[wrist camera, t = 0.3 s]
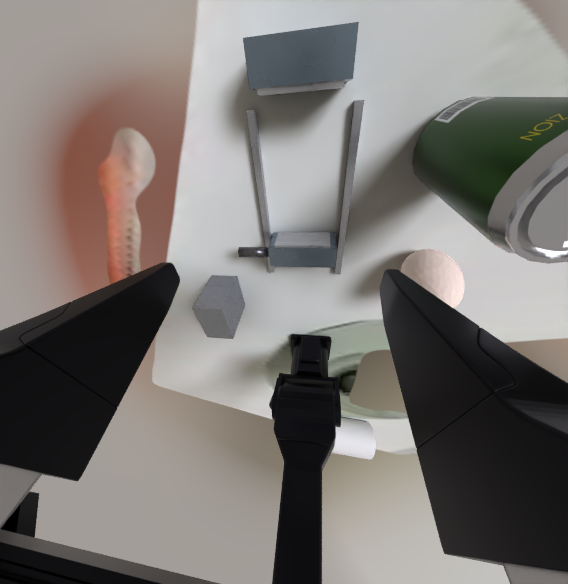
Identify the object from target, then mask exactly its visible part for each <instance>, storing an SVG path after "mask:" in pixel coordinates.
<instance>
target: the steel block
mask: <svg viewBox="0 0 568 584" xmlns="http://www.w3.org/2000/svg"><path fill="white" fill-rule="evenodd" d="M244 308H245V302H244V299H243V295H242V291H241V288H240V284H239V281H238V277H237V276H215V275H212V276H211V278H210V280H209V281H208V283H207V285H206V286H205V288H204V290H203V291H202V293H201V294H200V296H199V298H198V299H197V301H196V303H195V304H194V306H193V307H192V309H193V310H194V312H195V314H196V316H197V318H198V320H199V322H200V324H201V326H202V328H203V330H204V332H205V334H206V335H207V337H213V338H227V339H233V338H234V335H235V332H236V329H237V327H238V324H239V321H240V319H241V316H242V313H243V310H244Z"/></svg>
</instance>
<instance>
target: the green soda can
mask: <svg viewBox="0 0 568 584" xmlns="http://www.w3.org/2000/svg"><path fill="white" fill-rule="evenodd" d="M413 167H414V172H415V174H416V175H417V177H418V178H419V180H420V181H421V182H422V183H424V184H425V185H426V186H427V187H428V188H429V189H431V190H432V191H433V192H434V193H435V194H436V195H438V196H439V197H440V198H441V199H442V200H443V201H444V202H446V203H447V204H448V205H449V206H450V207H451V208H453V209H454V210H455V211H456V212H457V213H458V214H460V215H461V216H462V217H463V218H464V219H465V220H467V221H468V222H469V223H470V224H471V225H472V226H474V227H475V228H476V229H477V230H478V231H479V232H480V233H482V234H483V235H484V236H485V237H486V238H487V239H489V240H490V241H491V242H492V243H493V244H494V245H496V246H498V247H499V248H501V249H503V250H505V251H507V252H509V253H516V254H518V255H519V256H521V257H523V258H525V259H527V260H529V261H534V262H542V263H558V262H568V97H471V98H467V99H464V100H460V101H457V102H455V103H454V104H452V105H450V106H448V107H447V108H445V109H443V110H442V111H441V112H440V113H439V114H438V115H437V116H436V117H435V118H433V119H432V120H431V121H430V122H429V124H428V125H427V127H426V128H425V129H424V131H423V132H422V134H421V135H420V137H419V139H418V142H417V144H416V146H415V149H414V155H413Z"/></svg>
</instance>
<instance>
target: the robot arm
mask: <svg viewBox="0 0 568 584" xmlns="http://www.w3.org/2000/svg"><path fill="white" fill-rule="evenodd" d="M179 283H180V277H179V275H178V273H177V271H176V269H175V267H174V265H173V264H172V263H164V262H163V263H160V264H158V265H155V266H153V267H150V268H148V269H146V270H143V271H141V272H139V273H136V274H134V275H132V276H130V277H127V278H125V279H123V280H120V281H118V282H116V283H113V284H111V285H109V286H106V287H105V288H102V289H100V290H97V291H95V292H93V293H90V294H88V295H86V296H83V297H81V298H79V299H77V300H74V301H72V302H69V303H67V304H65V305H63V306H60V307H58V308H55V309H53V310H51V311H48V312H46V313H43V314H41V315H39V316H36V317H34V318H31V319H29V320H26V321H24V322H21V323H19V324H16V325H13V326H11V327H8V328H6V329H3V330H1V331H0V584H219V583H215V582H210V581H207V580H203V579H199V578H195V577H191V576H186V575H183V574H178V573H174V572H170V571H166V570H162V569H158V568H154V567H150V566H146V565H142V564H138V563H134V562H130V561H126V560H122V559H118V558H114V557H110V556H106V555H102V554H98V553H93V552H90V551H86V550H82V549H78V548H74V547H70V546H66V545H62V544H58V543H53V542H50V541H46V540H42V539H38V538H34V537H35V528H36V518H37V508H38V499H39V493H35V492H30V490H31V488H32V487H33V486H34V484H35V483H36V482H37V480H38V479H39V478H40V476H41V475H42V474H43V475H48V476H53V477H58V478H63V479H68V480H73V481H78V480H79V479H80V477H81V476H82V474H83V472H84V470H85V469H86V467H87V465H88V463H89V461H90V459H91V457H92V455H93V454H94V451H95V450H96V448H97V446H98V444H99V442H100V440H101V438H102V436H103V434H104V433H105V430H106V429H107V427H108V425H109V423H110V421H111V419H112V417H113V416H114V414H115V411H116V410H117V407H118V406H119V404H120V402H121V400H122V398H123V396H124V394H125V392H126V390H127V389H128V387H129V385H130V383H131V381H132V379H133V377H134V375H135V373H136V372H137V370H138V368H139V366H140V364H141V362H142V360H143V358H144V356H145V354H146V353H147V351H148V349H149V347H150V345H151V343H152V341H153V339H154V337H155V336H156V334H157V332H158V330H159V328H160V326H161V324H162V322H163V320H164V318H165V317H166V315H167V313H168V311H169V308H170V306H171V303H172V301H173V298H174V296H175V293H176V291H177V288H178V286H179ZM380 297H381V305H382V314H383V321H384V326H385V331H386V334H387V338H388V342H389V346H390V350H391V353H392V357H393V361H394V365H395V368H396V373H397V376H398V380H399V384H400V388H401V392H402V396H403V399H404V403H405V407H406V411H407V415H408V418H409V422H410V426H411V430H412V434H413V438H414V441H415V445H416V448H417V453H418V457H419V461H420V465H421V469H422V472H423V476H424V480H425V484H426V488H427V491H428V495H429V499H430V503H431V507H432V511H433V515H434V518H435V522H436V526H437V530H438V533H439V537H440V541H441V545H442V548H443V551H444V553H445V554H447V555H452V556H457V557H463V558H468V559H473V560H478V561H483V562H488V563H493V564H498V565H503V566H504V568H505V571H506V574H507V576H508V579H509V581H510V584H568V383H567V382H565V381H564V380H562V379H560V378H559V377H557V376H555V375H554V374H552V373H550V372H549V371H547V370H546V369H544V368H542V367H541V366H539V365H537V364H536V363H534V362H533V361H531V360H529V359H528V358H526V357H525V356H523V355H521V354H520V353H518V352H517V351H515V350H513V349H512V348H510V347H509V346H508V345H506V344H504V343H503V342H502V341H500V340H499V339H497V338H496V337H494V336H493V335H491V334H490V333H488V332H487V331H485V330H484V329H483V328H479V326H478V325H477V324H475V323H474V322H472V321H471V320H470V319H468V318H467V317H465V316H464V315H462V314H461V313H459V312H458V311H457V310H455V309H454V308H452V307H451V306H449V305H448V304H447V303H445V302H444V301H442V300H441V299H439V298H438V297H436V296H435V295H434V294H432V293H431V292H429V291H428V290H426V289H425V288H423V287H422V286H421V285H419V284H418V283H416V282H415V281H413V280H412V279H411V278H409V277H408V276H406V275H405V274H403V273H402V272H400V271H399V270H396V269H387V270H386V271H385V272H384V275H383V279H382V282H381V285H380ZM330 347H331V337H325V336H310V335H295V334H292V335H291V351H292V366H291V374H283V373H279V377H278V378H277V381H276V386H275V390H274V393H273V396H272V398H271V401H270V404H269V406H270V408H271V409H272V418H273V420H275V423H274V432H275V435H276V438H277V441H278V444H279V447H280V450H281V453H282V456H283V459H284V471H283V481H282V491H281V502H280V511H279V522H278V531H277V541H276V552H275V561H274V571H273V582H272V584H322V470H323V468H324V466H325V464H326V462H327V460H328V458H329V456H330V454H331V452H332V450H333V448H334V445H335V438H336V427H341V405H340V393H339V382H338V377H328V360H329V354H330Z"/></svg>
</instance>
